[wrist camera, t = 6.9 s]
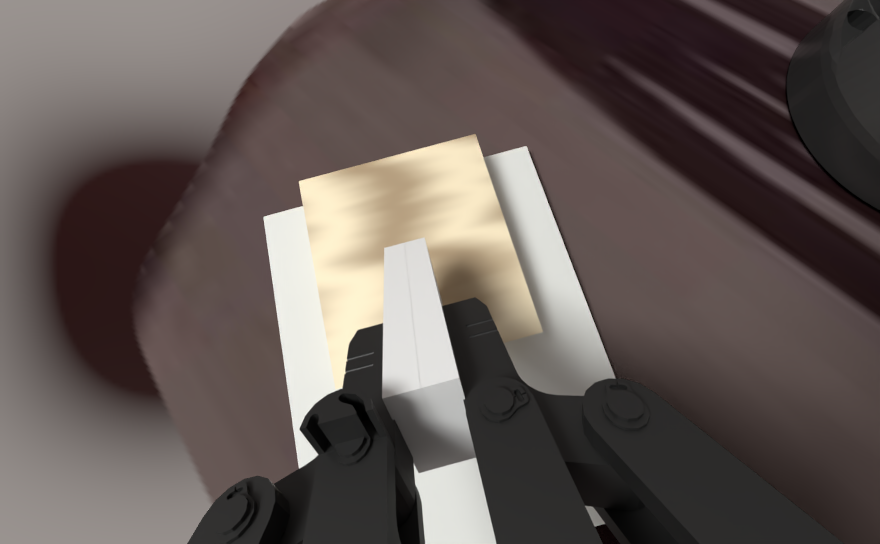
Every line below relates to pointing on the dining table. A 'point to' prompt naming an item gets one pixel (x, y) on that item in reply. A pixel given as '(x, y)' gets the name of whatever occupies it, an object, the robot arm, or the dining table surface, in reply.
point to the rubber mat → (534, 357)
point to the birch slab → (405, 219)
